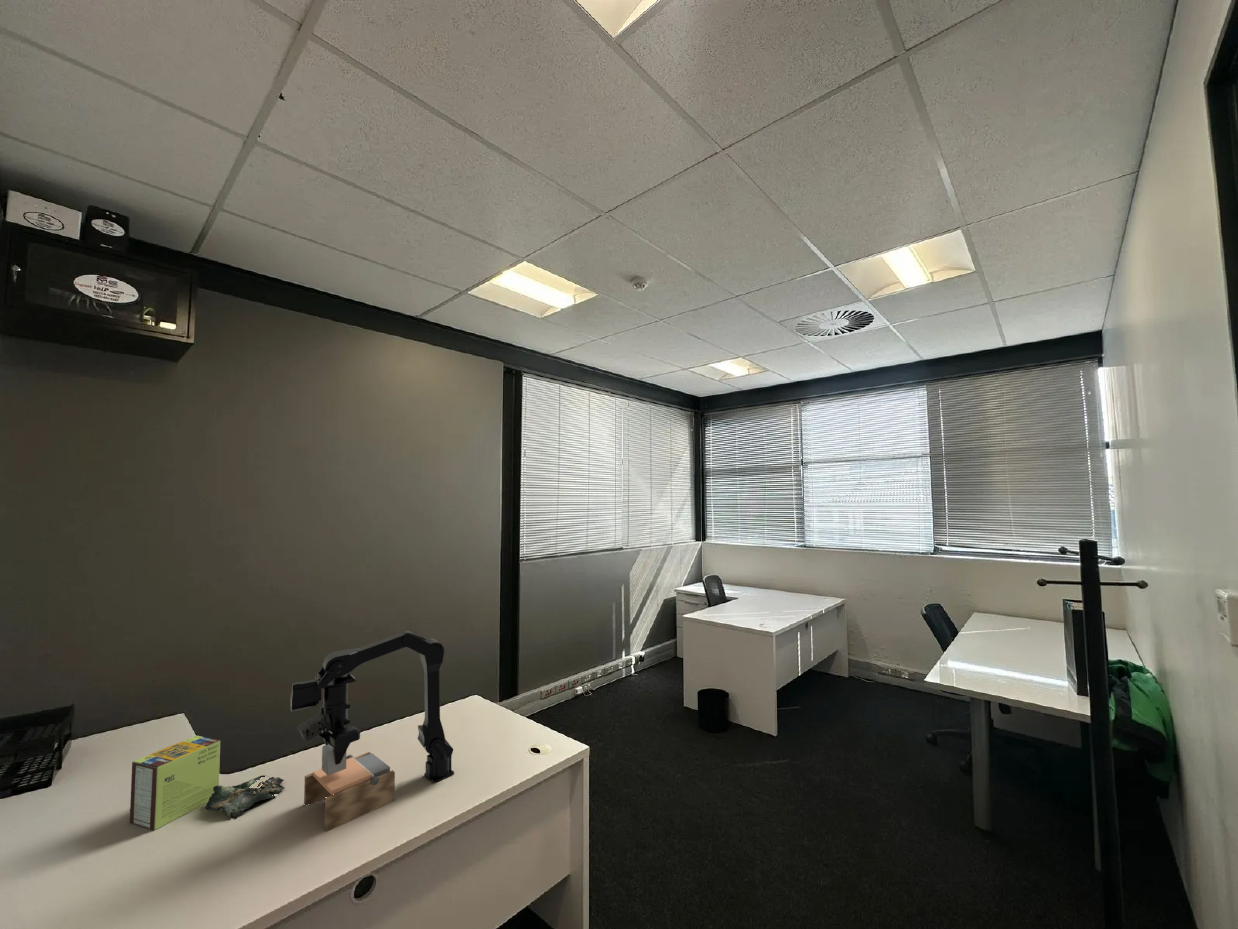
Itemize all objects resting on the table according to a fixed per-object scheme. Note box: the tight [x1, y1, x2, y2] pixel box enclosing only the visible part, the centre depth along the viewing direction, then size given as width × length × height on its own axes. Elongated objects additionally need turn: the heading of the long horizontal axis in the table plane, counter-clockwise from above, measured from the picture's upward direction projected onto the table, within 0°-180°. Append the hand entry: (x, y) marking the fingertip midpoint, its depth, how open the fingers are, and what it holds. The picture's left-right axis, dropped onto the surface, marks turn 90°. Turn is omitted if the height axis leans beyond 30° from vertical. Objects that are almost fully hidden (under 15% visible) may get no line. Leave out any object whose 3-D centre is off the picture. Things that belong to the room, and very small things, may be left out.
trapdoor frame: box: [303, 751, 396, 832], centre depth 138 cm, size 17×18×8 cm
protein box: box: [129, 735, 221, 831], centre depth 137 cm, size 10×15×16 cm
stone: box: [321, 744, 348, 775], centre depth 136 cm, size 4×4×6 cm
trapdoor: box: [312, 752, 391, 795], centre depth 139 cm, size 15×14×4 cm
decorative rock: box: [204, 774, 285, 821], centre depth 141 cm, size 19×6×15 cm
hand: (334, 761), depth 136 cm, fingers closed on stone, 4 cm apart
